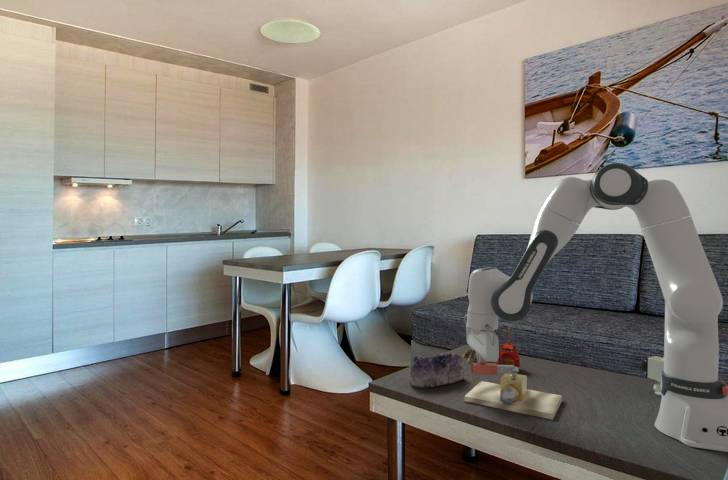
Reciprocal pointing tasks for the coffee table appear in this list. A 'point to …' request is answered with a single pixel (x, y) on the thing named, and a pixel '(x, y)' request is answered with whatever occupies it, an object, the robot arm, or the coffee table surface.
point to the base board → (530, 405)
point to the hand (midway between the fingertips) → (481, 368)
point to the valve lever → (493, 369)
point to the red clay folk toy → (508, 354)
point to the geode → (436, 371)
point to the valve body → (513, 388)
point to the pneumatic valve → (654, 370)
